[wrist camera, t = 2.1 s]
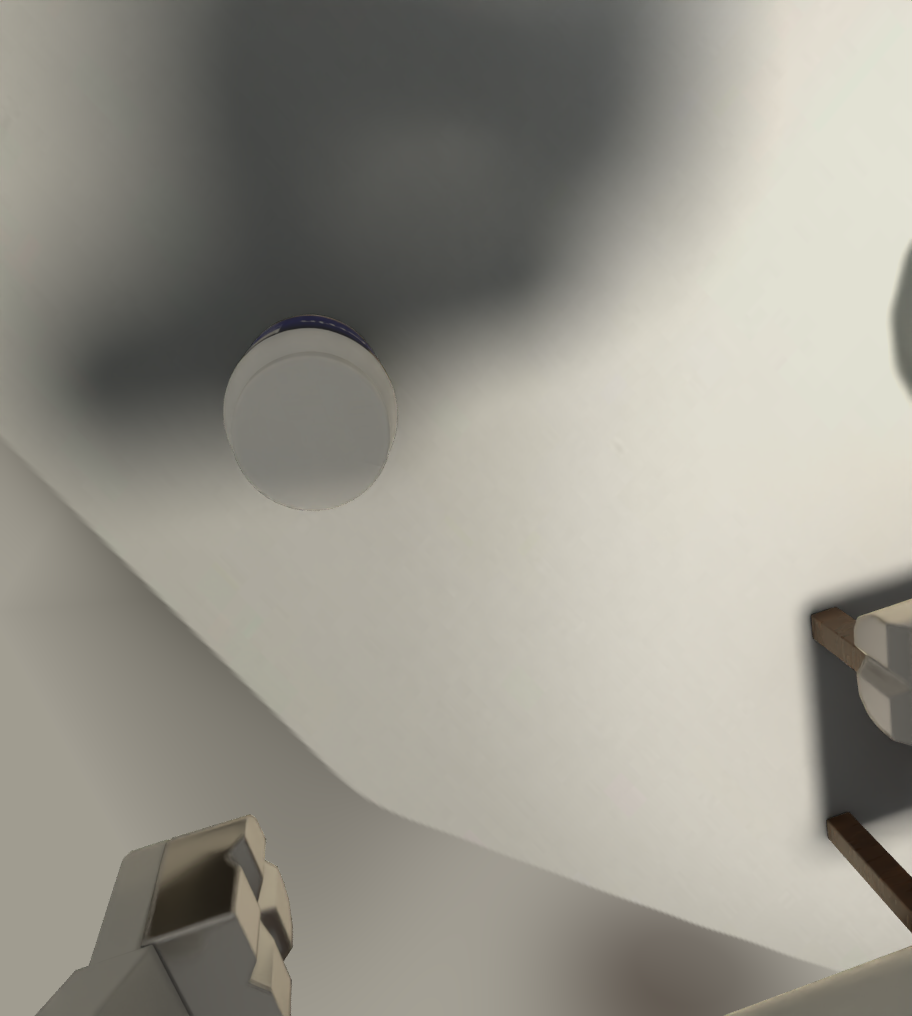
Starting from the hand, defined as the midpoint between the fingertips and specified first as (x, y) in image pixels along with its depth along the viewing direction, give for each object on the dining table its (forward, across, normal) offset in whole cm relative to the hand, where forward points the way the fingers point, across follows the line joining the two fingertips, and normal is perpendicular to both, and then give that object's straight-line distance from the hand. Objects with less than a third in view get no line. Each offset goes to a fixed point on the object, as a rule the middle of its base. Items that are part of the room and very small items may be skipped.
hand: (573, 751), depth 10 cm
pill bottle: (+24, +3, -2) cm, 25 cm away
